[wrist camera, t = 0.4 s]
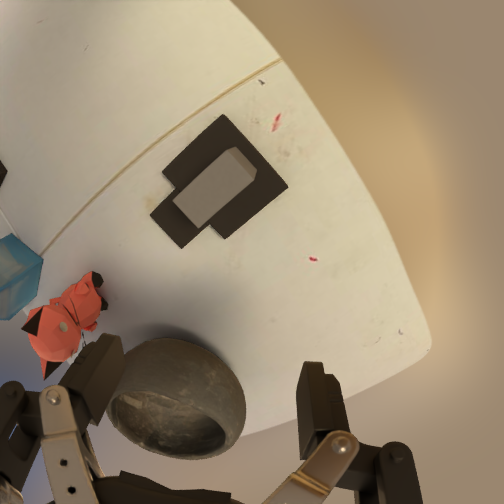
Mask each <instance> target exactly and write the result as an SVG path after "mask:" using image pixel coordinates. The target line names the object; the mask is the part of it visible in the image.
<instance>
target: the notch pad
mask: <svg viewBox="0 0 504 504" xmlns="http://www.w3.org/2000/svg"><path fill="white" fill-rule="evenodd" d="M6 173H7V170H6V169H5V167H4V166H3V164H2V163H1V161H0V186H1V184H2V182H3V179H4V177H5V175H6Z"/></svg>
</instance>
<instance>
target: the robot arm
mask: <svg viewBox="0 0 504 504" xmlns="http://www.w3.org/2000/svg"><path fill="white" fill-rule="evenodd" d="M125 366H126V361H125V357H124V352H123V347H122V343H121V338H120V337H119V336H116V335H112V334H107V333H103V334H102V335H101V336H100V337H99V339H98V340H97V342H93V341H92V342H91V343H89V344H88V345H86V346H85V347H83V349H82V350H81V352H80V353H79V354H78V356H77V357H76V359H75V360H74V363H72V364H71V366H70V367H69V369H68V370H67V372H66V373H65V375H64V376H63V378H62V379H61V381H60V382H59V383H58V385H51V386H48V387H46V388H44V389H43V390H42V392H32V391H25V389H24V387H23V385H22V384H21V383H19V382H17V381H9V382H6V383H5V384H3V385H2V386H1V388H0V504H23V497H22V495H21V491H22V488H23V486H24V483H25V481H26V478H27V476H28V473H29V471H30V469H31V467H32V464H33V462H34V460H35V457H36V455H37V453H38V451H39V449H40V446H41V447H42V452H43V457H44V462H45V466H46V471H47V475H48V479H49V483H50V486H51V490H52V494H53V497H54V500H53V501H51V502H49V503H47V504H244V503H241V502H239V501H237V500H234V499H231V493H228V492H219V491H212V490H205V489H197V490H171V489H169V488H167V487H165V486H163V485H160V484H158V483H156V482H154V481H152V480H150V479H148V478H146V477H142V476H139V475H135V474H131V473H128V472H125V471H122V470H121V472H120V475H119V476H107V477H105V476H104V474H103V472H102V470H101V468H100V466H99V464H98V461H97V459H96V456H95V453H94V450H93V447H92V444H91V441H90V438H89V434H88V431H87V429H86V428H87V426H88V424H89V423H90V424H93V425H96V426H98V424H99V422H100V420H101V418H102V416H103V414H104V412H105V410H106V408H107V406H108V404H109V402H110V400H111V398H112V396H113V394H114V392H115V390H116V388H117V386H118V384H119V382H120V380H121V378H122V376H123V374H124V371H125ZM296 404H297V418H298V432H299V449H300V460H306V461H305V462H304V463H303V464H302V465H301V466H300V467H299V468H298V470H296V472H293V473H292V474H290V476H288V477H287V478H286V480H285V481H284V482H283V483H282V484H281V485H280V486H279V487H278V488H277V489H276V490H275V491H274V492H273V493H272V494H271V495H270V496H269V497H268V498H267V499H266V500H265V501H264V502H263V503H262V504H322V503H323V501H324V500H325V499H326V498H327V496H328V495H329V493H330V492H331V490H332V489H333V488H334V487H339V488H343V489H349V490H354V498H355V504H423V501H422V495H421V491H420V486H419V481H418V477H417V472H416V468H415V463H414V459H413V455H412V452H411V450H410V449H409V447H408V446H406V445H405V444H403V443H401V442H389V443H387V444H385V445H384V446H383V447H382V448H381V447H375V446H370V445H366V444H363V443H361V442H359V441H358V440H357V438H356V437H355V436H354V435H353V434H351V432H350V429H349V424H348V420H347V415H346V410H345V405H344V402H343V396H342V392H341V387H340V383H339V382H338V380H337V379H336V378H335V376H334V375H333V374H325V373H324V368H323V363H322V362H310V361H305V362H304V363H303V367H302V370H301V374H300V377H299V381H298V384H297V390H296ZM16 424H17V426H16V428H15V430H14V432H13V434H12V436H11V437H10V434H11V433H12V431H13V429H14V427H15V425H16ZM9 437H10V439H9Z"/></svg>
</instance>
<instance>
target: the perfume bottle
mask: <svg viewBox="0 0 504 504" xmlns="http://www.w3.org/2000/svg"><path fill="white" fill-rule="evenodd" d="M42 264H43V259H42V258H41V257H39V256H38V255H37V254H36V253H34V252H33V251H32V250H31V249H30V248H28V247H27V246H26V245H25V244H24V243H22V242H21V241H20V240H19V239H18V238H17V237H15V236H14V235H13V234H12V233H11V234H9V235H8V236H6V237H4V238H2V239H0V320H10V319H11V318H12V317H13V316H14V315H16V313H18V312H19V311H20V310H21V309H22V308H23V307H24V306H25V305H26V304H28V303H29V302H30V301H31V300H32V299H33V298H34V297H35V296H37V290H38V284H39V279H40V273H41V268H42Z"/></svg>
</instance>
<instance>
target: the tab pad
mask: <svg viewBox="0 0 504 504" xmlns="http://www.w3.org/2000/svg"><path fill="white" fill-rule="evenodd" d="M162 173H163V174H164V175H165V176H166V177H167V178H168V179H169V180H170V181H171V182H172V183H173V185H174V186H175V187H176V189H175V190H174V191H173V192H172V193H171V194H170V195H169V196H168V197H167V198H166V199H165V200H164V201H163V202H162V203H161V204H160V205H159V206H158V207H157V208H156V209H155V210H154V211H153V212H152V213H151V214H150V216H151V217H152V218H153V220H154V221H155V222H156V223H157V224H158V225H159V226H160V227H161V228H162V229H163V230H164V231H165V232H166V233H167V234H168V235H169V236H170V238H171V239H172V240H173V241H174V242H175V243H176V244H177V245H178V246H179V247H180V248H181V249H182V248H183V247H184V246H186V245H187V244H188V243H189V242H190V241H191V240H192V239H193V238H194V237H196V236H197V235H198V234H199V233H200V232H201V231H202V230H203V229H205V228H206V227H207V226H208V225H209V224H211V225H212V226H213V227H214V228H215V230H216V231H217V232H218V233H219V234H220V235H221V236H222V237H223V238H224V239H226V238H228V237H229V236H230V235H231V234H232V233H234V232H235V231H236V230H237V229H238V228H240V227H241V226H242V225H243V224H244V223H246V222H247V221H248V220H249V219H250V218H252V217H253V216H254V215H255V214H257V213H258V212H259V211H260V210H261V209H263V208H264V207H265V206H266V205H267V204H269V203H270V202H271V201H272V200H274V199H275V198H276V197H277V196H278V195H280V194H281V193H282V192H283V191H285V190H286V189H287V188H288V186H287V184H286V183H285V182H284V180H283V179H282V178H281V177H280V176H279V175H278V173H277V172H276V171H275V170H274V169H273V168H272V166H271V165H270V164H269V163H268V162H267V161H266V160H265V158H264V157H263V156H262V155H261V154H260V153H259V152H258V151H257V149H256V148H255V147H254V146H253V145H252V144H251V143H250V142H249V141H248V139H247V138H246V137H245V136H244V135H243V134H242V133H241V132H240V131H239V130H238V129H237V127H236V126H235V125H234V124H233V123H232V122H231V121H230V120H229V119H228V118H227V117H226V116H225V115H223V114H222V115H221V116H220V117H219V118H217V119H216V120H215V121H214V122H213V123H212V124H211V125H210V126H209V127H207V128H206V129H205V130H204V131H203V132H202V133H201V134H200V135H199V136H198V137H197V138H196V139H194V140H193V141H192V142H191V143H190V144H189V145H188V146H187V147H186V148H185V149H184V150H183V151H182V152H181V153H180V154H179V155H178V156H177V157H176V158H175V159H174V160H173V161H172V162H171V163H170V164H169V165H168V166H167V167H166V168H165V169H164V170H163V171H162Z"/></svg>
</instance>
